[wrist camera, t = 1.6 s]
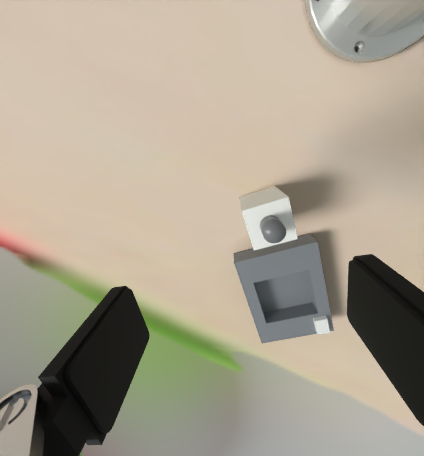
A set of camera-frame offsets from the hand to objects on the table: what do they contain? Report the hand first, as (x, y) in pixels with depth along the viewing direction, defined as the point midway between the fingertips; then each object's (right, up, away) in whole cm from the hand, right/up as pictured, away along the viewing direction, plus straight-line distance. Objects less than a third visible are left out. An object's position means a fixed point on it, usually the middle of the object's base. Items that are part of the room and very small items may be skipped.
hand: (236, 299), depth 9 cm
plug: (+5, +6, +17) cm, 18 cm away
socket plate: (+9, -5, +20) cm, 23 cm away
